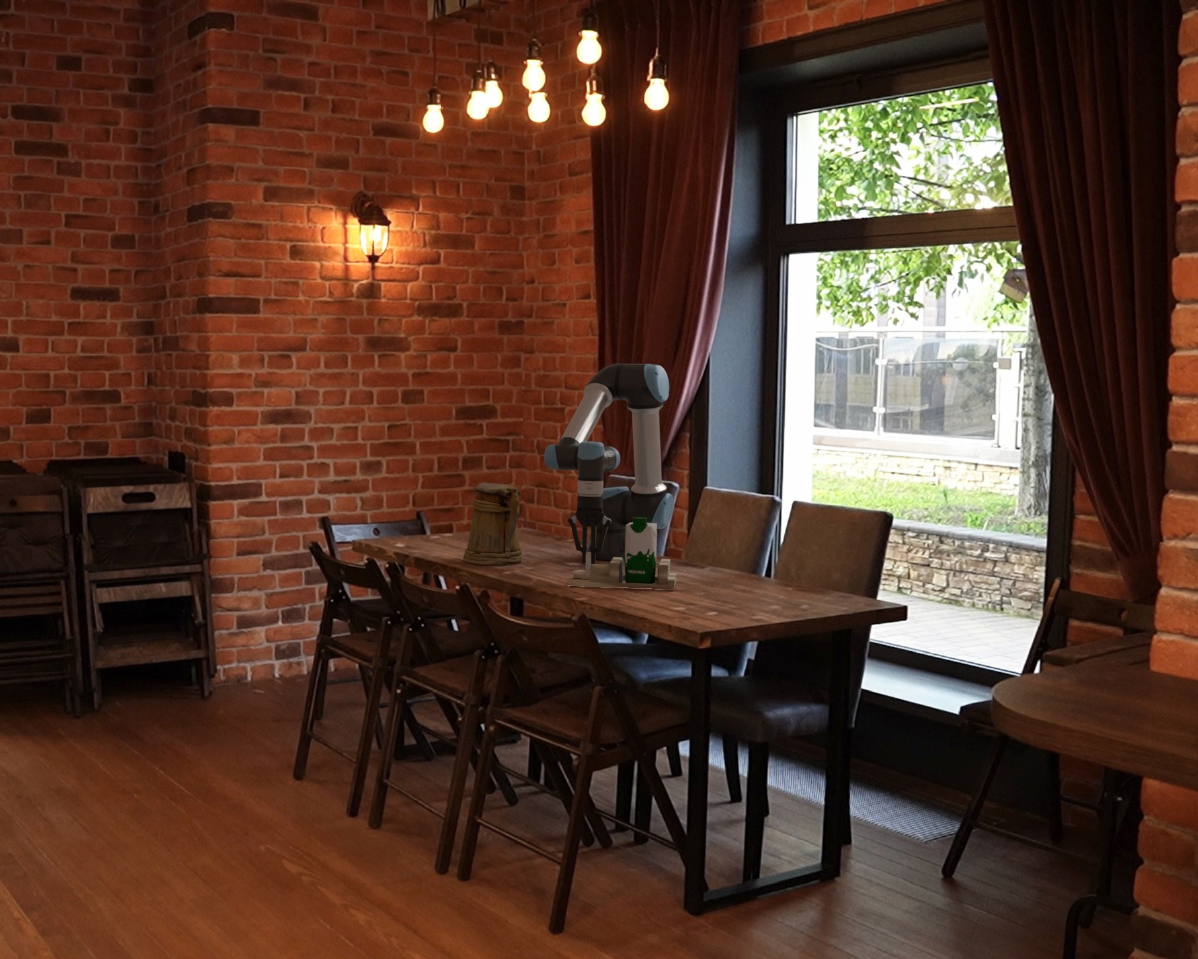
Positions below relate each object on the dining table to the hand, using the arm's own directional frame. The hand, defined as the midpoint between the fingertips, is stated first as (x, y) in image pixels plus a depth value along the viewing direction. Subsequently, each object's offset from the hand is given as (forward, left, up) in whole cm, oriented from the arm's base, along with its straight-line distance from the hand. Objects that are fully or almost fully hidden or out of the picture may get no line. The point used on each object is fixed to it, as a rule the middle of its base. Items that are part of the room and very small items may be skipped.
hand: (588, 574), depth 400 cm
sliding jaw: (0, +5, -2) cm, 6 cm away
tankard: (-32, -33, -3) cm, 46 cm away
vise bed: (0, +10, -2) cm, 10 cm away
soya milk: (0, +15, -3) cm, 15 cm away
